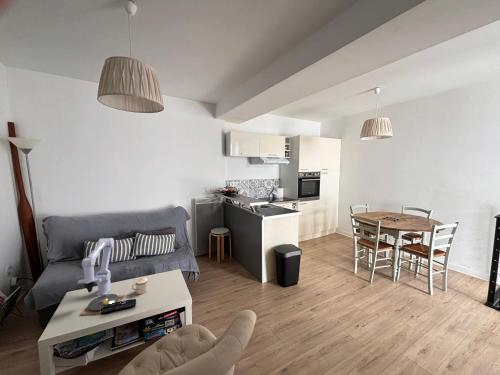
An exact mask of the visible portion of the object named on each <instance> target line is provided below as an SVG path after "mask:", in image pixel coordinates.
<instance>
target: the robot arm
mask: <svg viewBox="0 0 500 375" xmlns="http://www.w3.org/2000/svg"><path fill="white" fill-rule="evenodd" d="M114 240H115V239H114V238H113V237H110V238H109V237H106V238H104V237H103V238H99V239H98V241H97V246H96V247H95V249H94V250H91V252H90V253H89V254H88V255H87V257H85V258H83V259H82V261H81V264H80V265H81V267H82V269H83V274H84V279H83V278H82V279H79V280H78V281H77V284H78V285H80V284H83V286H84V287H85V288H86V289H87V292H88V293H91V292H93V288H94V285H95V283H96V284H97V293H95V296H103V295H107V294H109V292H111V290H112V289H113V287H112V284H111V275H112V274H111V272H112V271H110V270H109V269H108V268H109V263H110V258H111V251H112V249H113V248H114V244H115V241H114ZM101 250H103V253H102V259H101V263H100V264H101V265H100V268H99V270H98V271H96V274H95V268H94V265H95V264H96V261H97V260H96V259H97V258H98V257H99V255H100V252H101Z"/></svg>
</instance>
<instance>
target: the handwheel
mask: <svg viewBox="0 0 500 375" xmlns="http://www.w3.org/2000/svg"><path fill="white" fill-rule="evenodd" d="M117 301H118V294H116V293H107V294H106V295H99V296H97V297H95V298H94V299H92V300H91V301H90V302H89V304H88V305H87V307H88V309H89V310H91V311H100V310H101V309H102V308H103V307H104V306H107V305H108V304H112V303H116V302H117Z"/></svg>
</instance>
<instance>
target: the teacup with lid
mask: <svg viewBox="0 0 500 375" xmlns="http://www.w3.org/2000/svg"><path fill="white" fill-rule="evenodd" d="M134 286H135V287H136V288H134ZM131 289H132V290H133V291H136V294H137V295H142V294H145V293H147V292H148V291H149V279H148V278H147V277H140V278H138V280H136V281H135V283H133V284H132V286H131Z"/></svg>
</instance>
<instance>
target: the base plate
mask: <svg viewBox="0 0 500 375" xmlns="http://www.w3.org/2000/svg"><path fill="white" fill-rule="evenodd" d="M117 296H118V301H117V302H119V301H120V302H122V300H123V299H124V298H125V297H126V296H125V294H121V295H120V294H119V295H118V294H117ZM89 315H102V314H101V312H100V311H91V310H89V309H88V306H87V307H86V308H84V309H83V311H81V312H80V313H79V316H80V317H81V316H89Z"/></svg>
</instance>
